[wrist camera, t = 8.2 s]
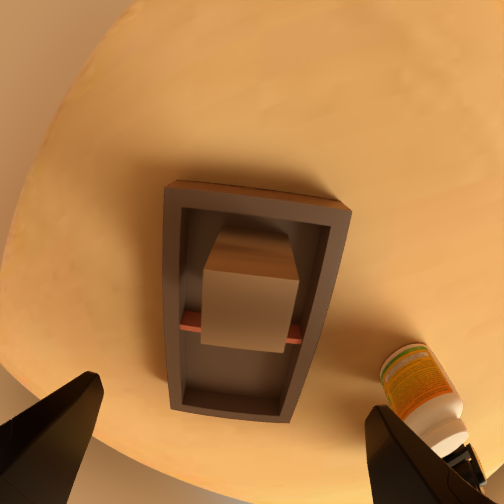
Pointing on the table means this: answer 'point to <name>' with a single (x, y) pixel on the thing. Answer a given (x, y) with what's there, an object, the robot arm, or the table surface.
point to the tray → (190, 297)
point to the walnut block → (248, 290)
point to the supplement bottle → (424, 397)
